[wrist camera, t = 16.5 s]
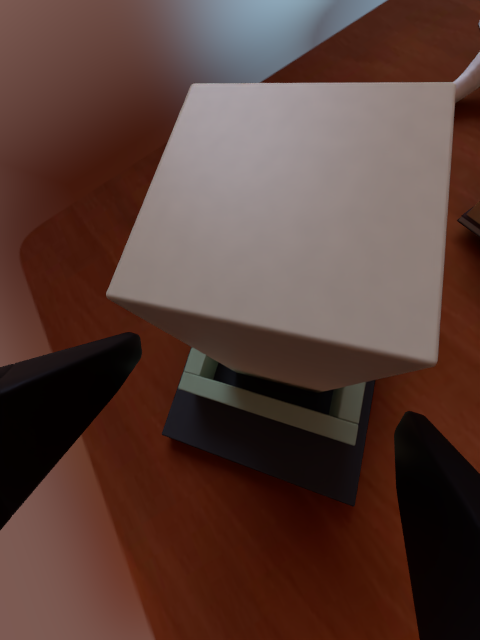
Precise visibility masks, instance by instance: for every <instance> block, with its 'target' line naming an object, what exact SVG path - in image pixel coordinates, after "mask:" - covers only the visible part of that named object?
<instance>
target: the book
mask: <svg viewBox="0 0 480 640" xmlns="http://www.w3.org/2000/svg"><path fill="white" fill-rule="evenodd" d="M457 221H458V222H459V223H461V224H462V225H463V226H465V227H466V228H467V229H469V230H470V231H471V232H473V233H474V234H476V235H477V236H478V237H480V201H479V202H478V203H477V204H476V205H475V206H474V207H472V208H471V209H470V210H468V211H467V212H466V213H464V214H463V215H462V217H461V218H460V219H458V220H457Z"/></svg>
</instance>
